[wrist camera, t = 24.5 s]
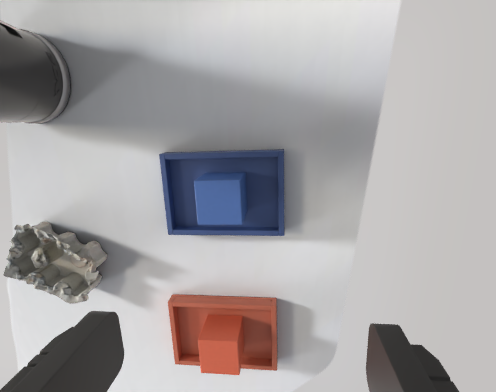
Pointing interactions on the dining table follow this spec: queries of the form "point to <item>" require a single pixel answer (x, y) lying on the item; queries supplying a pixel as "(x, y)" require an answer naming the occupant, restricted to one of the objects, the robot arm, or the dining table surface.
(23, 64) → the robot arm
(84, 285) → the egg carton
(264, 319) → the terracotta tray
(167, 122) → the dining table surface
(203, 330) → the terracotta block
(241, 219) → the blue block
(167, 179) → the blue tray
